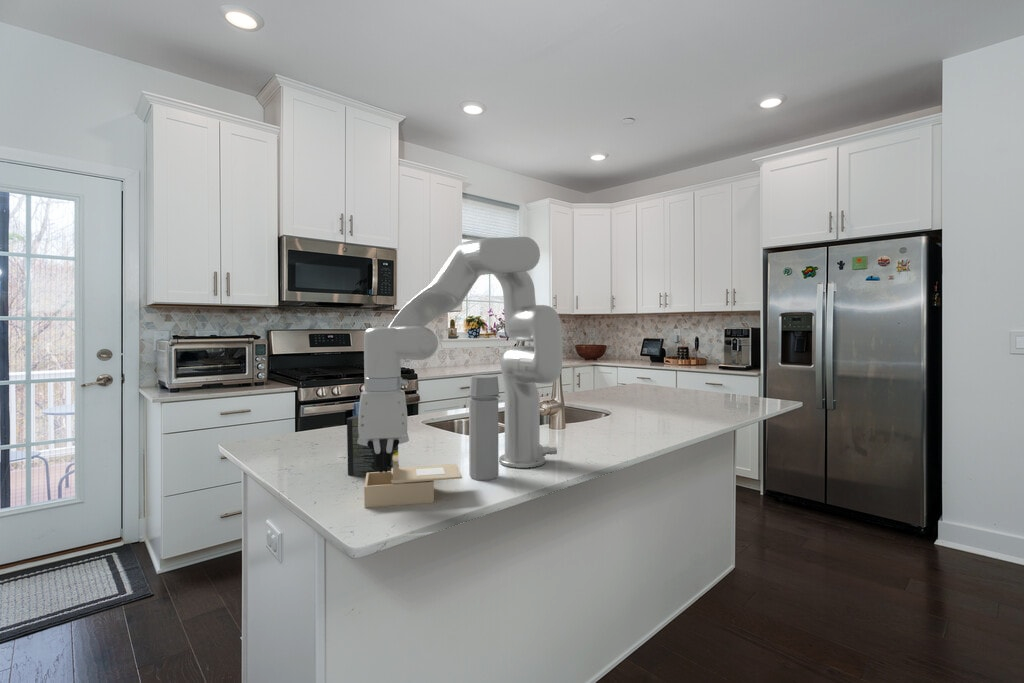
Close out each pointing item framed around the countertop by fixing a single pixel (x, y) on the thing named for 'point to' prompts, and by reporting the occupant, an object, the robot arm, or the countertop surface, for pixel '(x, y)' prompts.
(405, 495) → the mailer box
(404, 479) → the lid
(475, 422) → the water bottle
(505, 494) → the countertop surface
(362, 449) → the tampon box
